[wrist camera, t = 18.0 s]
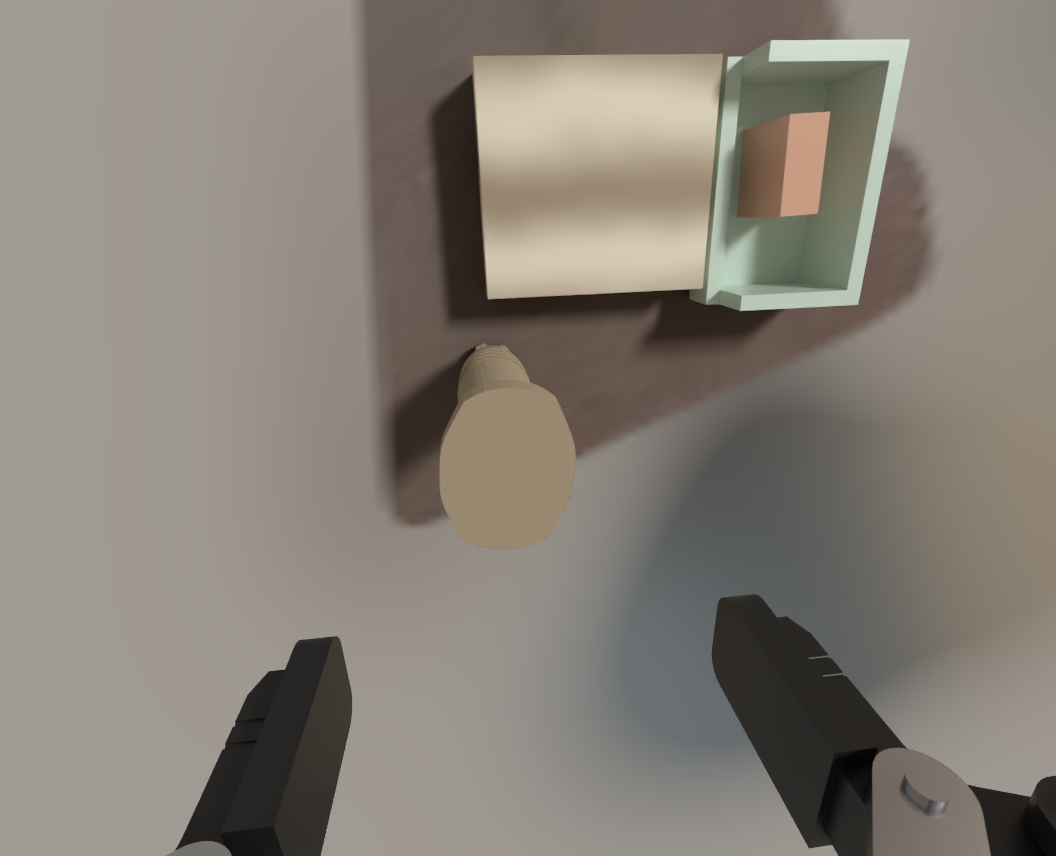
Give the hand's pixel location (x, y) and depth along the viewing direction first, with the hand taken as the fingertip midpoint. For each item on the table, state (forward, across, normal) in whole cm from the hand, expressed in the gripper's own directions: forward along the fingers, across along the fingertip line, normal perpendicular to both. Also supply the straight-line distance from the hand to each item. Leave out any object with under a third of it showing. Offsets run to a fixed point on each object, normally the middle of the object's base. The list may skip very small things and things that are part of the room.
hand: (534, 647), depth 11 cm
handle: (+24, 0, 0) cm, 24 cm away
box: (+23, -16, -9) cm, 30 cm away
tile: (+21, -15, -10) cm, 27 cm away
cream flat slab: (+23, -6, -10) cm, 26 cm away
